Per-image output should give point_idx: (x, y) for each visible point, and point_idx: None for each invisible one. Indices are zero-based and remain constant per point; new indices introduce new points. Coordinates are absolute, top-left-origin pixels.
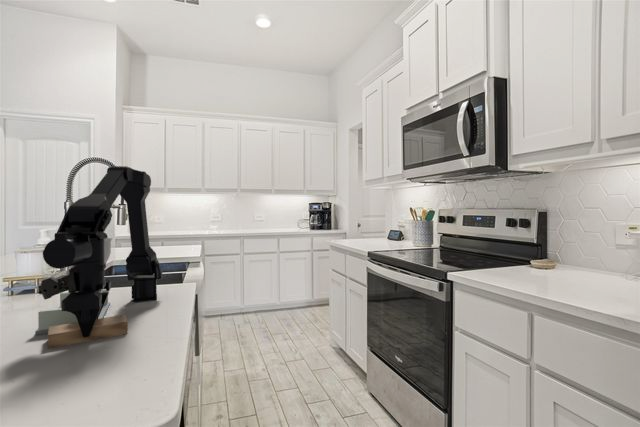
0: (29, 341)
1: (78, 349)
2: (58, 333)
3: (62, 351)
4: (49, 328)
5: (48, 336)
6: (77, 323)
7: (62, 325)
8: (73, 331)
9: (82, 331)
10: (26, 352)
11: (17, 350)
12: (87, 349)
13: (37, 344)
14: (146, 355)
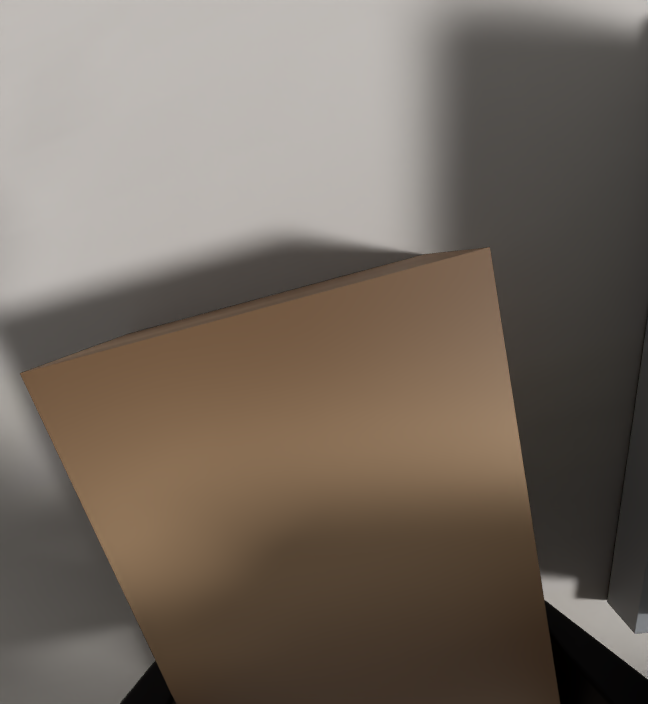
0: (451, 45)
1: (38, 580)
2: (76, 486)
3: (19, 477)
4: (386, 284)
5: (35, 374)
6: (471, 594)
7: (466, 432)
8: (146, 618)
9: (138, 693)
10: (72, 154)
11: (166, 21)
12: (22, 638)
13: (300, 182)
14: None
